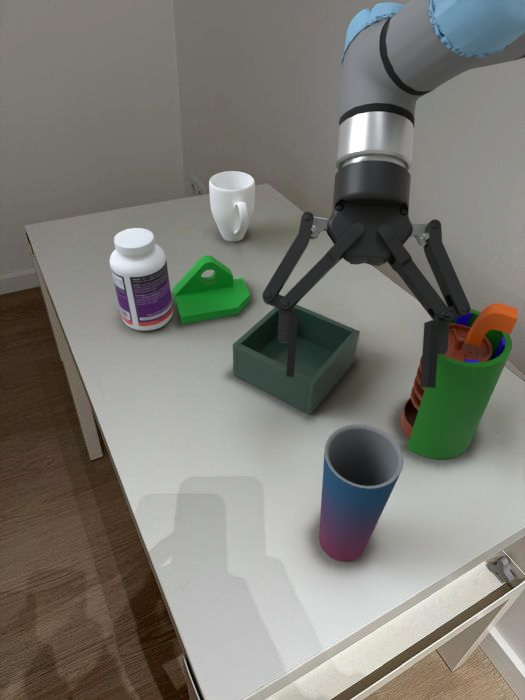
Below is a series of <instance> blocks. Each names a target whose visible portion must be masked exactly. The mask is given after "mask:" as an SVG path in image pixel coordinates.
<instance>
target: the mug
mask: <svg viewBox="0 0 525 700" xmlns="http://www.w3.org/2000/svg"><path fill="white" fill-rule="evenodd" d="M208 191H209V206H210V211H211V214H212V217H213V219H214V223H215V224H216V226H217V229H218V231H219V233H220V236H221V237H222V239H223V240H225V241H227V242H239V241H242V240H243V239H244V238H245V235H246V233H247V231H248V228H249V225H250V223H251V220H252V218H253V215H254V211H255V205H256V204H255V203H256V201H255V200H256V196H255V195H256V181H255V178H254V177H253V176H252V175H250V174H248V173H246V172H244V171H243V172H242V171H238V170H227V171H222V172H217V173H216V174H214V175H212V176H211V177H210V178H209V181H208Z"/></svg>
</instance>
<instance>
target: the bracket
mask: <svg viewBox="0 0 525 700" xmlns="http://www.w3.org/2000/svg"><path fill="white" fill-rule="evenodd" d="M206 271H213V273H212V274H210V276H202V275H203V274H204V273H205V272H206ZM171 291H172V296H173V299H174V303H175V307H176V310H177V314H178V317H179V320H180V324H181V325H184V324H190V323H196V322H202V321H208V320H215V319H219V318H226V317H231V316H237V315H239V314H240V313H241V312H242V310H244V308H245V307H246V306H247V305H248V304H249V303H250V302H251V293H250V290H249V288H248V287H247V284H246V282H245V280H244V278H243V277H238V278H234V275H233V273H232V269H230V268H229V267H228V266H226V265H225V264H223V262H221V261H219V260H218V259H216V258H215V257H213V256H212V255H210V254H207V255H206V254H205V255H203V256H201V257H199V259H198V260H197V261H196V262H195V264H194V265H193V266H192V267H191V268H190V269H189V270H188V271H187V272H186V273H185V274H184V275H183V276H182V278H181V279H180V280H179V281H177V283H176V284H175V285H174V286H173V287H172V290H171Z"/></svg>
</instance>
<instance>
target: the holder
mask: <svg viewBox="0 0 525 700" xmlns="http://www.w3.org/2000/svg"><path fill="white" fill-rule="evenodd" d="M292 310H294V311H299V314H298V327H297V341H296V354H295V368H294V377H286V372H287V358H288V345H289V343H279V340H278V337H277V335H278V322H279V311H278V309H277V308H275V307H272V309H270V311H269V312H267V314H265V315H264V316H263V317H262V318H261V319H259V320H258V322H256V323H255V324H254V325H253V326H252V327H250V328H249V330H247V331H246V332H245V333H244V334H243V335H242V336H241V337H240V338H238V339H237V340H236V341H234V343H233V344H232V369H233V371H232V372H233V374H232V375H233V376H235V377H236V378H238V379H240V380H242V381H243V382H246V383H248V384H249V385H251V386H253V387H255V388H257V389H259V390H261V391H263V392H265V393H267V394H268V395H271V396H272V397H275V398H277V399H279V400H280V401H282V402H284V403H285V404H287V405H290V406H291V407H294V408H295V409H297V410H299V411H301V412H303V413H305V414H307V415H308V416H310V415H311V414H312V413H313V412H314V411H315V409H316V408H317V407H318V406H319V405H320V403H321V402H322V401H323V400H324V398H325V397H326V396H327V395H328V394H329V393H330V392H331V390H332V389H333V388H334V386H335V385H336V384H337V383H338V382H339V381H340V379H341V378H342V377H343V376H344V374H345V373H346V372H347V371H348V370H349V369H350V367H351V366H352V365H353V363H354V362H355V359H356V353H357V348H358V344H359V338H360V333H361V331H360V330H358V329H355V328H353V327H351V326H348V325H346V324H344V323H341V322H339V321H336V320H335V319H332V318H329V317H327V316H326V315H322V314H320V313H317V312H315V311H314V310H311V309H308V308H306V307H303V306H301V305H299V304H298V303H297V304H296V305H295V306H294V307H293V308H292Z"/></svg>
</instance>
